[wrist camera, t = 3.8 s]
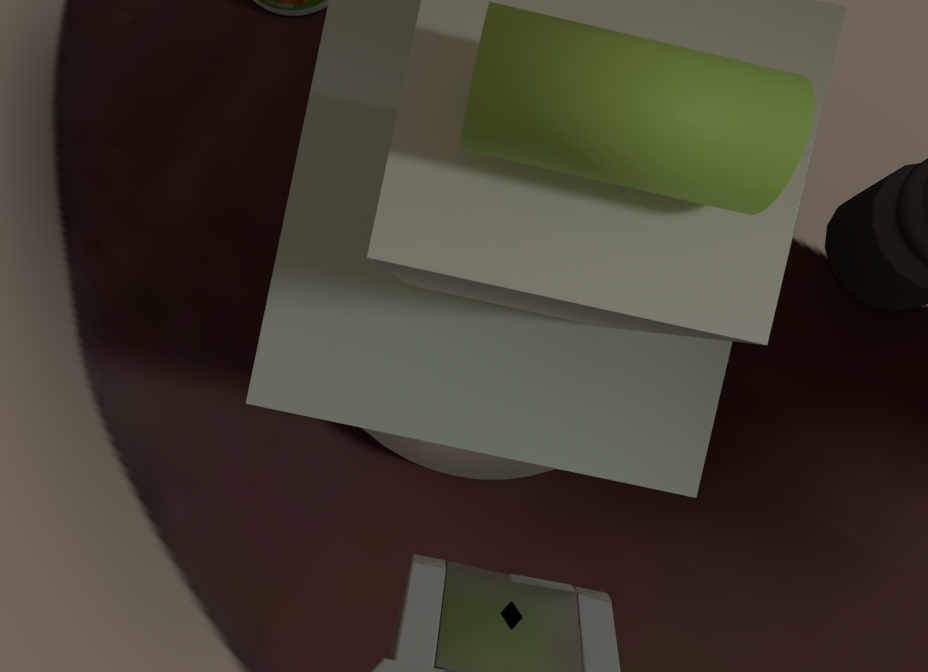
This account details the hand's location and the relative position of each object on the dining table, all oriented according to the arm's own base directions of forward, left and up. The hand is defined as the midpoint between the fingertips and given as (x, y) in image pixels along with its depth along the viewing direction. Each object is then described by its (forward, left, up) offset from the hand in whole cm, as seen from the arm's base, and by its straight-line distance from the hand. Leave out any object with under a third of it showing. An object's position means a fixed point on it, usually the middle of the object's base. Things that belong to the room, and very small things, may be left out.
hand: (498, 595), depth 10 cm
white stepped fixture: (-3, -9, -9) cm, 13 cm away
